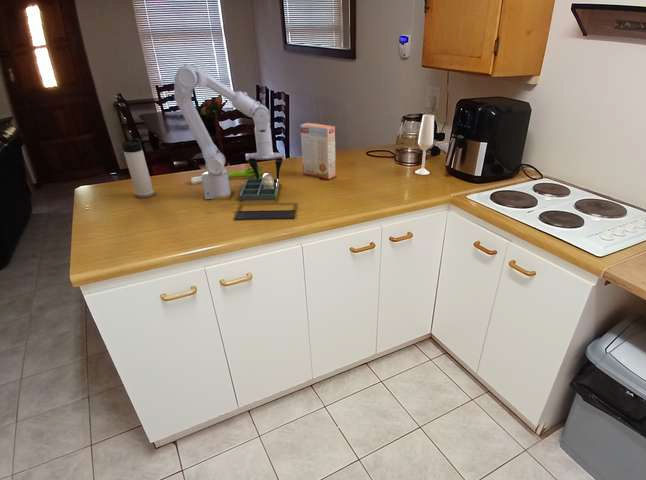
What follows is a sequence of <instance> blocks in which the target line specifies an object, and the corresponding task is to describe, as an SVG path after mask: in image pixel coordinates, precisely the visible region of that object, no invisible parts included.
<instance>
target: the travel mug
mask: <svg viewBox="0 0 646 480" xmlns="http://www.w3.org/2000/svg"><path fill="white" fill-rule="evenodd" d="M121 147H122V150H123V154H124V157H125V161H126V165H127V167H128V168H127V169H128V171H129V174H130V178H131V182H132V185H133V189H134V191H135V195H136V197H137V198H141V199H146V198H150V197H153V196H154V195H155V192H154V187H153V184H152V180H151V176H150V172H149V169H148V166H147V161H146V158H145V153H144V151H143V148H142V144H141V139H139V138H134V139H129V140H125V141H123V142H122V143H121Z"/></svg>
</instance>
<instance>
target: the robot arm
mask: <svg viewBox="0 0 646 480" xmlns="http://www.w3.org/2000/svg"><path fill="white" fill-rule="evenodd" d="M173 80H174V81H173V82H174V87H173V88H174V89H173V90H174V91H173V92H174V93H173V98H174V101H175V103H176V105H177V106H178V107H177V108H178V109H179V111H180V112H181V114H182V116H183V119H184V120H185V121H186V123H187V126H188V127H189V129H190V132H191V133H192V135H193V137H194V139H195V141H196V142H197V144H198V146H199V148H200V150H201V153H202V157H203V159H204V161H205V168H206V172H202V174H201V176H202V188H203V189H202V190H203V194H204V200H214V199H215V198H224V197H228V196H230V195H231V186H230V178H228V173H229V172H228V170H227V168H226V167H225V165H226V163H227V162H226V157H225V155H224V154H223V153H222V152H221V151H220V150H219V149H218V147H217V145H216V144H215V143H214V141H213V139H212V137H211V136H210V133H209V131H208V130H207V128H206V126H205V123H204V121H203V119H202V118H201V116H200V114H199V111H198V109H197V108H196V106H195V104H194V102H193V100H192V98H193V97H192V96H193V93H194V90H195V88H196V87H198V88H209V89H210V90H212V91H213V92H215V93H217V94H218V95H220V96H222V97H224V98H225V99H227V100H229V101H230V102H231V105H232V107H233V108H235V109H236V110H237V111H238V112H241V113H242V114H243V115H245V116H247V118H252V120H253V122H254V136H255V144H256V145H255V146H256V152H251V153H250V152H249V153H245V155H244V156H245V160H246V161H248V164H249V165H250V168H252V170H253V171H254V174H255V175H256V177H255V179H259V173H258V166H259V165H258V160H275V161H274V163H275V170H276V178H277V179H279V180H280V171H281V166H282V164H283V161H284V160H286V153H285V152H274V151H273V139H272V129H271V127H270V126H271V123H270V121H271V120H270V119H271V115H270V111H269V109H268V107H266V106H265V104H262V103H261V101H259V100H255V99H253V98H251V97H250V96H249V95H248V93H247V92H246V91H241V90H240V91H239V90H238V91H234V90H232V89H231V88H230V87H228V86H227V85H226V84H224V83H223V82H221V81H220V80H218V79H217V78H215V77H214V76H213V75H212V74H210V73H208V72H206V71H205V70H203V69H201V68H198V67H197V66H195V65H194V64H192V63H185V64H184V65H183V66H180V67H179V68H178V69H177V71H176V73H175V75H174V77H173ZM197 85H198V86H197ZM257 165H258V166H257Z"/></svg>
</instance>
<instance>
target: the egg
mask: <svg viewBox="0 0 646 480" xmlns="http://www.w3.org/2000/svg"><path fill="white" fill-rule="evenodd" d="M261 179H262V183H263V188H264V189H274V179H275V178H274V176H273V174H271V173H268V172H266V173H263V174H262V177H261Z"/></svg>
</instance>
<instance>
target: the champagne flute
mask: <svg viewBox="0 0 646 480" xmlns="http://www.w3.org/2000/svg"><path fill="white" fill-rule="evenodd" d="M434 128H435V115H434V114H423V115H422V118H421V122H420V129H419V134H418V140H417V144H418V147H419V148H420V149H421V150H422V160H421V168H419V169H417V170H415V171H414V173H415V174H417V175H422V176H424V175H430V173H431V172H430V171H429V170H428V169H426V168H425V164H426V155H427V151H428V150H429V149H431V147H433V145H434V137H435V136H434V135H435V134H434V133H435V132H434V131H435V129H434Z"/></svg>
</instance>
